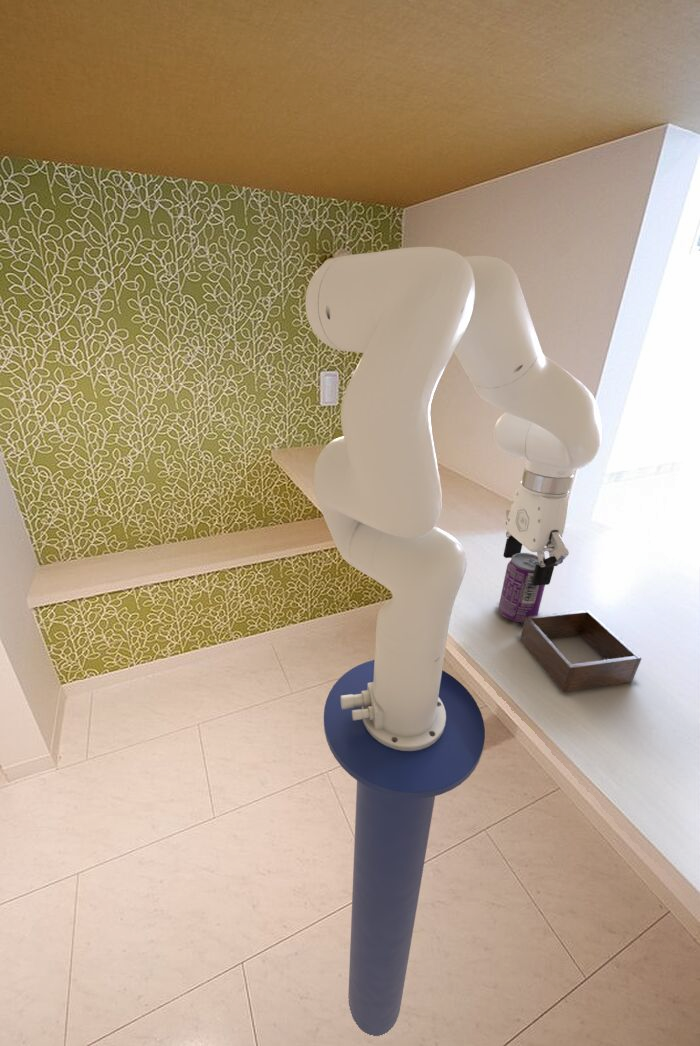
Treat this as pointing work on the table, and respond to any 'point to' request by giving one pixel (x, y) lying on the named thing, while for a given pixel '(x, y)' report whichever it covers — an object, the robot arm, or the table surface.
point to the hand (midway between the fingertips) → (525, 569)
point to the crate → (615, 652)
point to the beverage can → (520, 588)
